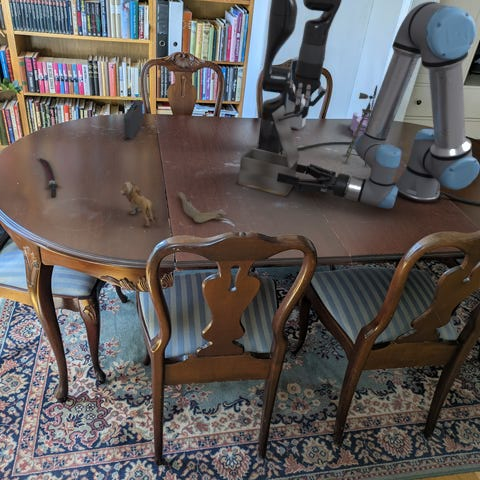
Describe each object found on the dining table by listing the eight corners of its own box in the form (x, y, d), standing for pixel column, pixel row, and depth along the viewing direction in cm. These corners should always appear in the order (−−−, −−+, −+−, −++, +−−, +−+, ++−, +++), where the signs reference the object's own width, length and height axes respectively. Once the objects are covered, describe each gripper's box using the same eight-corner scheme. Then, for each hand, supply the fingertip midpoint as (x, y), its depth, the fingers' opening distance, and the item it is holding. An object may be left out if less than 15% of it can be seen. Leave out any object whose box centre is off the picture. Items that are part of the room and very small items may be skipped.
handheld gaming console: (136, 121, 202) (136, 98, 197) (143, 121, 202) (142, 98, 197) (123, 140, 183) (122, 115, 178) (130, 141, 183) (130, 116, 178)
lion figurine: (118, 210, 138) (116, 182, 133) (132, 204, 141) (131, 177, 137) (151, 229, 130) (150, 201, 126) (165, 223, 134) (165, 195, 129)
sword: (61, 197, 141) (61, 193, 140) (50, 198, 139) (50, 194, 139) (49, 160, 164) (48, 156, 163) (39, 160, 163) (39, 157, 162)
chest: (238, 183, 160) (240, 156, 155) (248, 173, 168) (251, 147, 163) (285, 196, 156) (290, 168, 150) (293, 184, 164) (298, 158, 158)
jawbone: (206, 230, 134) (206, 224, 132) (158, 205, 144) (157, 199, 143) (227, 217, 139) (227, 212, 138) (179, 194, 150) (179, 188, 148)
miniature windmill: (366, 166, 183) (386, 89, 167) (344, 163, 184) (362, 86, 168) (365, 158, 191) (384, 83, 175) (345, 154, 192) (362, 80, 176)
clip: (343, 126, 223) (346, 112, 219) (367, 127, 225) (371, 113, 221) (360, 142, 206) (364, 127, 202) (386, 142, 209) (390, 127, 205)
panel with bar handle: (271, 113, 144) (296, 106, 140) (281, 105, 152) (304, 98, 148) (289, 167, 150) (312, 162, 146) (297, 157, 158) (320, 152, 154)
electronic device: (304, 126, 217) (316, 59, 201) (301, 131, 211) (313, 62, 195) (279, 121, 220) (288, 54, 204) (275, 125, 214) (284, 57, 198)
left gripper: (285, 57, 135) (276, 115, 145) (330, 66, 132) (318, 125, 141) (292, 53, 141) (283, 109, 151) (336, 61, 138) (324, 118, 147)
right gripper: (338, 211, 144) (270, 194, 150) (351, 184, 162) (290, 169, 168) (343, 190, 140) (273, 173, 146) (356, 164, 158) (293, 149, 164)
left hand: (300, 116), depth 146 cm, fingers closed
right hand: (282, 171), depth 157 cm, fingers closed on chest, 10 cm apart
